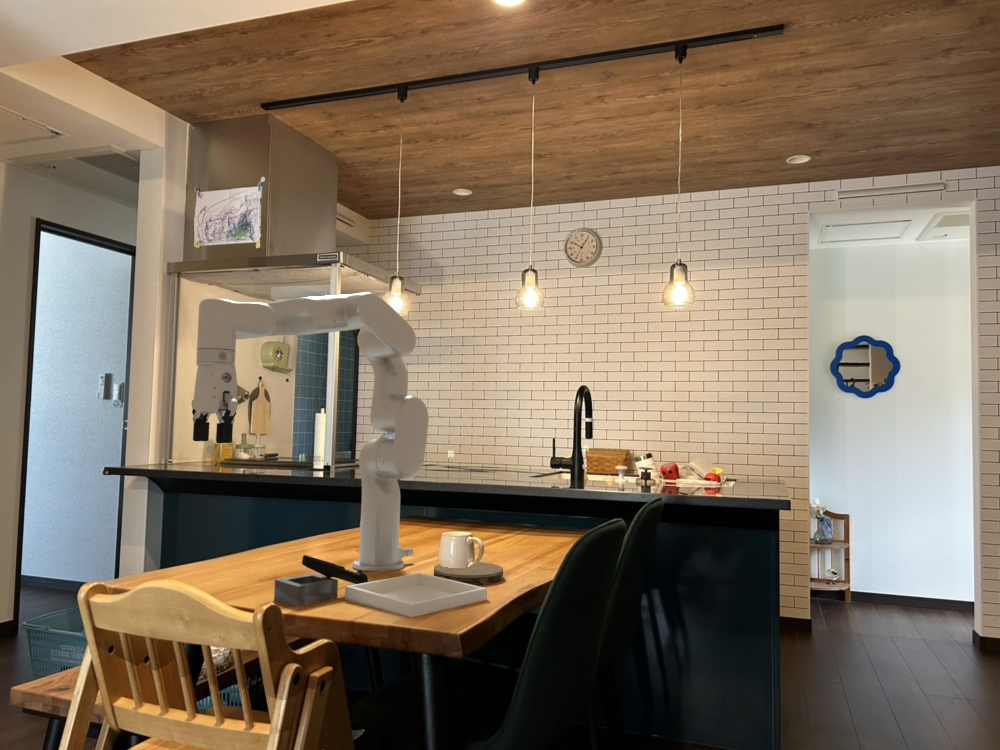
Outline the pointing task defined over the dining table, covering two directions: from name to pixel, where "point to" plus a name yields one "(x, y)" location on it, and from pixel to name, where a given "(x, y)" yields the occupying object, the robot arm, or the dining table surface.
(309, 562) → the electric trimmer
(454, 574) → the wooden log coaster
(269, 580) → the dining table surface
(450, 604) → the tray
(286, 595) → the socket block
